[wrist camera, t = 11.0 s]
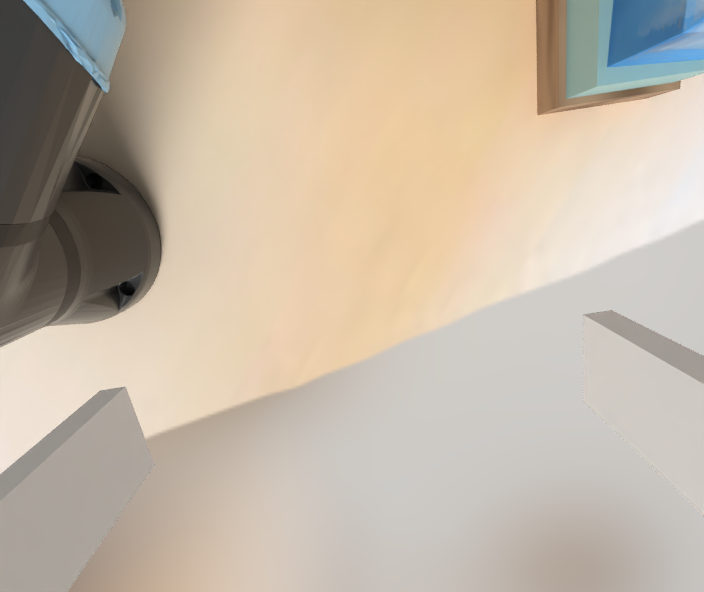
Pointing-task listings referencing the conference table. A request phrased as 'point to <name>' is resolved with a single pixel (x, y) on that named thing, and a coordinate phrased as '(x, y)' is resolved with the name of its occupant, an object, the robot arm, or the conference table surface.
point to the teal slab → (592, 55)
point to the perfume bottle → (656, 32)
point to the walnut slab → (554, 67)
